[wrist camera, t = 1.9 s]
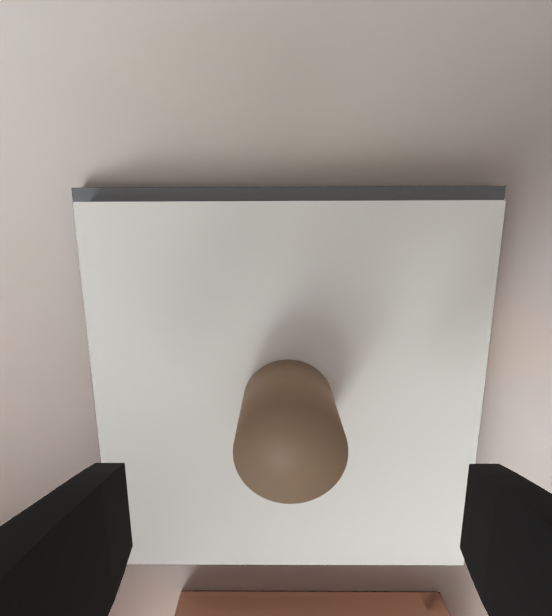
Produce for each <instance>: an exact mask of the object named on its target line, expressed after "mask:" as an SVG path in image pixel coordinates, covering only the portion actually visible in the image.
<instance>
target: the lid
mask: <svg viewBox="0 0 552 616" xmlns="http://www.w3.org/2000/svg"><path fill="white" fill-rule="evenodd" d="M505 205H506V200H403V201H168V202H73V210H74V219H75V228H76V237H77V247H78V256H79V265H80V274H81V283H82V292H83V301H84V311H85V320H86V329H87V338H88V347H89V356H90V365H91V375H92V384H93V393H94V402H95V411H96V420H97V429H98V439H99V448H100V457H101V463H125V471H126V482H127V492H128V502H129V512H130V523H131V533H132V543H133V547H132V550H131V553H130V556H129V559H128V562H127V564H161V565H464V557H463V555H462V552H461V550H460V540H461V531H462V522H463V514H464V505H465V496H466V487H467V479H468V470H469V464H475V463H476V455H477V446H478V438H479V429H480V420H481V412H482V403H483V394H484V386H485V377H486V369H487V360H488V351H489V343H490V334H491V325H492V317H493V308H494V300H495V291H496V282H497V274H498V265H499V257H500V248H501V239H502V231H503V222H504V213H505Z"/></svg>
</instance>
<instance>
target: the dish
mask: <svg viewBox="0 0 552 616" xmlns="http://www.w3.org/2000/svg"><path fill="white" fill-rule="evenodd" d="M175 616H449V613H448V611H447V609H446V607H445V604H444V602H443V600H442V597H441V595H440V593H439V592H208V591H181V594H180V597H179V601H178V605H177V609H176V612H175Z"/></svg>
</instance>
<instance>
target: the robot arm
mask: <svg viewBox="0 0 552 616" xmlns="http://www.w3.org/2000/svg"><path fill="white" fill-rule="evenodd" d="M132 547H133V543H132V533H131V523H130V512H129V502H128V492H127V482H126V471H125V463H95V464H93V465H91V466H90V467H88V468H86V469H85V470H83V471H82V472H80V473H79V474H77V475H76V476H74V477H73V478H71V479H70V480H68V481H67V482H65V483H64V484H62V485H61V486H59V487H58V488H56V489H55V490H53V491H52V492H50V493H49V494H47V495H46V496H45V497H43V498H42V499H40V500H39V501H37V502H36V503H34V504H33V505H31V506H30V507H28V508H27V509H25V510H24V511H22V512H21V513H19V514H18V515H17V516H15V517H14V518H12V519H11V520H9V521H8V522H6V523H5V524H3V525H2V526H0V616H108V614H109V612H110V609H111V607H112V605H113V603H114V600H115V597H116V595H117V592H118V589H119V586H120V583H121V580H122V577H123V574H124V571H125V568H126V565H127V562H128V559H129V556H130V553H131V550H132ZM460 550H461V552H462V555H463V557H464V560H465V562H466V565H467V568H468V570H469V573H470V575H471V578H472V580H473V582H474V585H475V587H476V589H477V592H478V594H479V596H480V599H481V601H482V603H483V605H484V607H485V609H486V611H487V613H488V615H489V616H552V494H551V493H549V492H548V491H546V490H544V489H543V488H541V487H539V486H538V485H536V484H534V483H533V482H531V481H529V480H527V479H526V478H524V477H522V476H521V475H519V474H517V473H515V472H513V471H512V470H510V469H508V468H506V467H504V466H502V465H500V464H469V470H468V479H467V487H466V496H465V505H464V514H463V522H462V531H461V540H460Z"/></svg>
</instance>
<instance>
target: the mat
mask: <svg viewBox="0 0 552 616" xmlns="http://www.w3.org/2000/svg"><path fill="white" fill-rule="evenodd" d="M505 187H506V186H362V187H142V188H72V197H73V202H168V201H403V200H504V196H505Z"/></svg>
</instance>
